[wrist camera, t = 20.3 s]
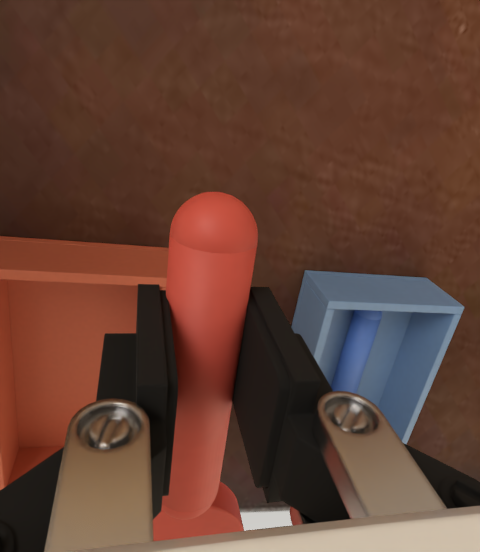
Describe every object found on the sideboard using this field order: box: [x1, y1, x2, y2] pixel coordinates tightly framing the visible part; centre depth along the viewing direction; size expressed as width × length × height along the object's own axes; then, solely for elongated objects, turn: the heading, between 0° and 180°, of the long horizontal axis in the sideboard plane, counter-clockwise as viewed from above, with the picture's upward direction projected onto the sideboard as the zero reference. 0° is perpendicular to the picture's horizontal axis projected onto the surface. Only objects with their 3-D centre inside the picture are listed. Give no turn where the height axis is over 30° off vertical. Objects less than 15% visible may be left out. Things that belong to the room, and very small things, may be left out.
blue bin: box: [291, 270, 464, 444], centre depth 34 cm, size 17×10×5 cm, turn 171°
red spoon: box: [153, 192, 258, 541], centre depth 13 cm, size 14×4×2 cm, turn 173°
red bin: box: [0, 236, 169, 490], centre depth 29 cm, size 17×10×5 cm, turn 171°
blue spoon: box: [331, 310, 382, 394], centre depth 35 cm, size 14×4×2 cm, turn 171°
